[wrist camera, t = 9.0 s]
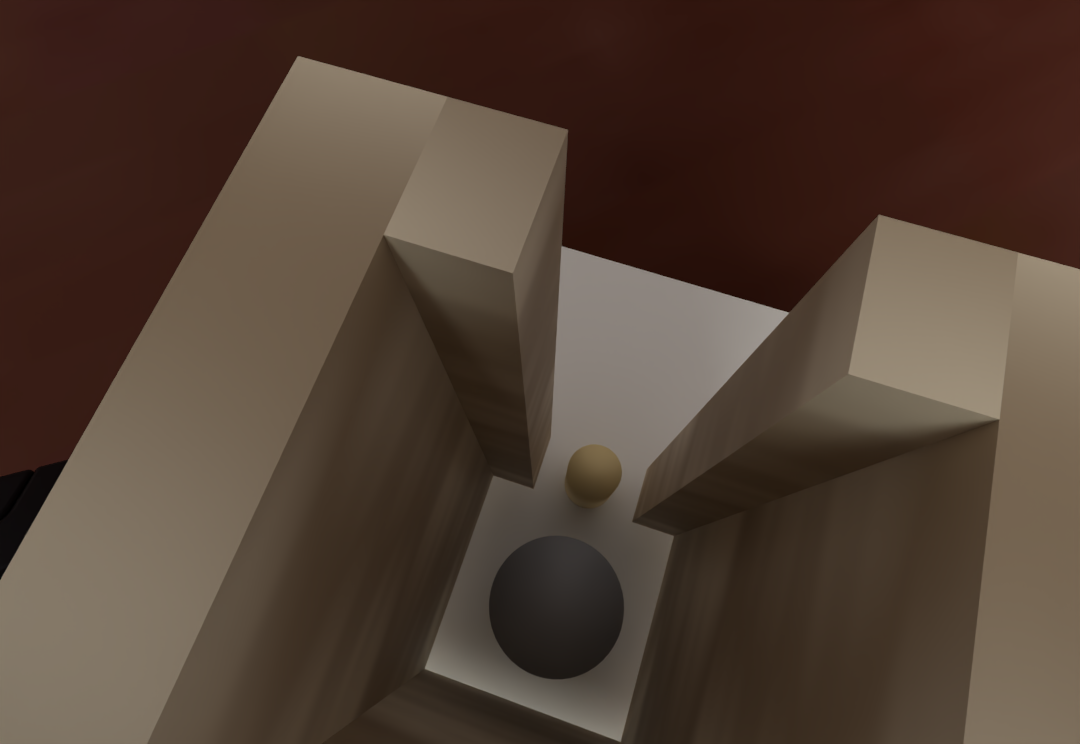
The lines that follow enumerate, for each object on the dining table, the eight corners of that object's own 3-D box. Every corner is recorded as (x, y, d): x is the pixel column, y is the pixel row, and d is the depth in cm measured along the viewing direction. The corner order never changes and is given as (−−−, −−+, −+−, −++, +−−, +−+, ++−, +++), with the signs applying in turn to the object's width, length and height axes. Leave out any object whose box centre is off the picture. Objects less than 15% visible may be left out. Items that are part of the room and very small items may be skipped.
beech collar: (664, 834, 13) (1197, 1933, 2) (345, 711, 14) (-319, 1142, 3) (742, 499, 15) (1207, 304, 4) (461, 408, 16) (297, 56, 5)
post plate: (742, 1159, 13) (867, 1520, 8) (132, 895, 14) (-84, 1061, 9) (884, 362, 18) (1011, 280, 13) (426, 226, 20) (387, 107, 15)
